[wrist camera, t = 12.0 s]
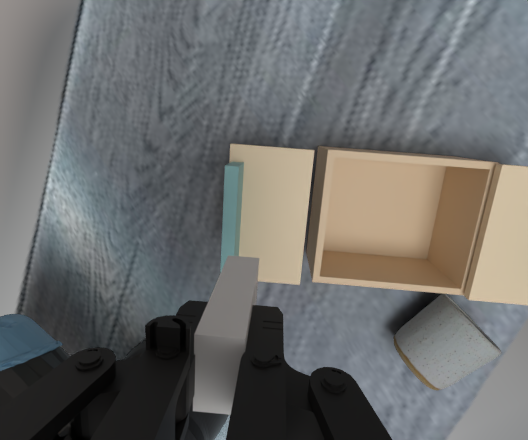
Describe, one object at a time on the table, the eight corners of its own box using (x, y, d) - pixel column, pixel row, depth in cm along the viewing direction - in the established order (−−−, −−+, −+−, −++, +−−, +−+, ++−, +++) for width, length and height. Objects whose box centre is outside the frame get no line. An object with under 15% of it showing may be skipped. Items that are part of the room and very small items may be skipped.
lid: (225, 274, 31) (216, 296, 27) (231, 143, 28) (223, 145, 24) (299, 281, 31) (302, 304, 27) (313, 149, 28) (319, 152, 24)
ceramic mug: (380, 327, 41) (403, 371, 33) (432, 281, 39) (469, 317, 32) (439, 378, 42) (473, 431, 35) (492, 336, 41) (540, 383, 33)
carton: (306, 252, 39) (312, 281, 31) (318, 145, 36) (328, 149, 28) (429, 262, 38) (466, 295, 31) (451, 156, 35) (499, 162, 28)
